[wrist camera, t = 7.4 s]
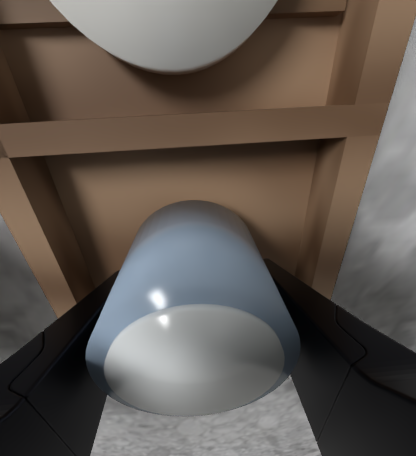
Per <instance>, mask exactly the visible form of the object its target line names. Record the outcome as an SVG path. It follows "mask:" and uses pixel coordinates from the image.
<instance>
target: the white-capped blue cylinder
mask: <svg viewBox="0 0 416 456" xmlns="http://www.w3.org/2000/svg"><path fill="white" fill-rule="evenodd" d="M300 348H301V346H300V337H299V334H298V331H297V329H296V327H295V325H294V322H293V320H292V318H291V316H290V314H289V312H288V310H287V308H286V306H285V304H284V302H283V300H282V298H281V295H280V293H279V291H278V289H277V287H276V285H275V283H274V281H273V279H272V277H271V275H270V273H269V271H268V268H267V266H266V264H265V262H264V260H263V258H262V256H261V254H260V252H259V250H258V248H257V246H256V243H255V241H254V239H253V237H252V235H251V233H250V231H249V229H248V227H247V226H246V224H245V223H244V222H243V220H242V219H241V218H240V217H239V216H238V215H236V214H235V213H234V212H232V211H231V210H229V209H228V208H226V207H224V206H221V205H219V204H216V203H213V202H209V201H202V200H186V201H179V202H176V203H172V204H169V205H167V206H164V207H162V208H160V209H159V210H157V211H155V212H154V213H153V214H151V215H150V216H149V217H148V218H147V219H146V220H145V221H144V222H143V223H142V225H141V226H140V228H139V229H138V231H137V233H136V235H135V238H134V240H133V242H132V244H131V247H130V249H129V251H128V253H127V256H126V258H125V260H124V262H123V265H122V267H121V269H120V271H119V274H118V276H117V278H116V280H115V283H114V285H113V287H112V289H111V292H110V294H109V296H108V298H107V301H106V303H105V305H104V307H103V310H102V312H101V314H100V316H99V319H98V321H97V323H96V325H95V328H94V330H93V332H92V334H91V337H90V339H89V341H88V345H87V348H86V358H85V359H86V365H87V369H88V371H89V374H90V376H91V378H92V379H93V381H94V382H95V384H96V385H97V386H98V387H99V388H100V389H101V390H102V391H103V392H105V393H106V394H107V395H108V396H110V397H111V398H113V399H115V400H116V401H118V402H120V403H122V404H124V405H127V406H129V407H132V408H135V409H137V410H141V411H145V412H149V413H154V414H160V415H168V416H202V415H210V414H215V413H220V412H225V411H229V410H232V409H236V408H239V407H242V406H245V405H247V404H250V403H252V402H254V401H256V400H258V399H260V398H262V397H264V396H266V395H267V394H269V393H270V392H272V391H273V390H274V389H276V388H277V387H278V386H280V385H281V384H282V383H283V382H284V381H285V380H286V379H287V378H288V376H289V375H290V374H291V372H292V371H293V369H294V367H295V366H296V364H297V361H298V358H299V355H300Z"/></svg>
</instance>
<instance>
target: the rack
mask: <svg viewBox="0 0 416 456" xmlns="http://www.w3.org/2000/svg"><path fill="white" fill-rule="evenodd" d="M415 16H416V0H278V1H277V2H276V4H275V5H274V6H273V8H272V9H271V11H270V12H269V14H268V15H267V17H266V18H265V19H264V20H263V22H262V23H261V24H260V25H259V26H258V28H257V29H256V30H255V31H254V32H253V34H252V35H251V36H250V37H249V38H248V39H247V40H246V42H245V43H244V44H243V45H242V46H240V47H239V48H238V49H237V50H236V51H235V52H234V53H233V54H231V55H230V56H228V57H227V58H225V59H224V60H222V61H221V62H219V63H217V64H215V65H213V66H211V67H209V68H207V69H204V70H201V71H197V72H194V73H189V74H181V75H163V74H158V73H152V72H148V71H145V70H142V69H139V68H136V67H133V66H131V65H129V64H127V63H125V62H123V61H121V60H119V59H118V58H116V57H115V56H113V55H112V54H110V53H109V52H107V51H106V50H104V49H103V48H101V47H100V46H99V45H97V44H96V43H94V42H93V41H91V40H90V39H89V38H87V37H86V36H85V35H84V34H83V33H82V32H80V31H79V30H78V29H77V28H76V27H74V26H73V25H72V24H71V23H70V22H69V21H68V20H67V19H66V18H65V17H64V16H63V15H62V14H61V13H60V12H59V10H58V9H57V8H56V7H55V6H54V5H53V4H52V3H51V1H50V0H0V213H1V215H2V217H3V219H4V221H5V222H6V224H7V226H8V228H9V230H10V232H11V233H12V235H13V237H14V239H15V241H16V243H17V244H18V246H19V248H20V250H21V252H22V254H23V255H24V257H25V259H26V261H27V263H28V265H29V266H30V268H31V270H32V272H33V274H34V276H35V277H36V279H37V281H38V283H39V285H40V287H41V288H42V290H43V292H44V294H45V296H46V298H47V299H48V301H49V303H50V305H51V307H52V309H53V310H54V312H55V314H56V316H57V318H60V317H61V316H62V315H63V314H64V313H66V312H67V311H68V310H69V309H71V308H72V307H73V306H74V305H76V304H77V303H78V302H79V301H80V300H82V299H83V298H84V297H85V296H87V295H88V294H89V293H90V292H92V291H93V290H94V289H95V288H96V287H98V286H99V285H100V284H101V283H103V282H104V281H105V280H106V279H108V278H109V277H110V276H111V275H112V274H114V273H115V272H116V271H118V270H120V269H121V267H122V265H123V262H124V260H125V258H126V256H127V253H128V251H129V249H130V247H131V244H132V242H133V240H134V238H135V235H136V233H137V231H138V229H139V228H140V226H141V225H142V223H143V222H144V221H145V220H146V219H147V218H148V217H149V216H150V215H151V214H153V213H154V212H155V211H157V210H159V209H160V208H162V207H164V206H167V205H169V204H172V203H176V202H179V201H186V200H202V201H209V202H213V203H216V204H219V205H221V206H224V207H226V208H228V209H229V210H231V211H232V212H234V213H235V214H236V215H238V216H239V217H240V218H241V219H242V220H243V222H244V223H245V224H246V226H247V227H248V229H249V231H250V233H251V235H252V237H253V239H254V241H255V243H256V246H257V248H258V250H259V252H260V254H261V256H262V258H269V259H270V260H272V261H273V262H275V263H276V264H278V265H279V266H281V267H282V268H284V269H285V270H286V271H288V272H289V273H291V274H292V275H294V276H295V277H297V278H298V279H300V280H301V281H303V282H304V283H306V284H307V285H309V286H310V287H312V288H313V289H314V290H316V291H317V292H319V293H320V294H322V295H323V296H325V297H326V298H328V299H329V300H331V296H332V293H333V290H334V286H335V283H336V280H337V276H338V273H339V270H340V266H341V263H342V260H343V256H344V253H345V250H346V246H347V243H348V240H349V236H350V233H351V230H352V226H353V223H354V220H355V216H356V213H357V210H358V206H359V203H360V200H361V196H362V193H363V190H364V186H365V183H366V180H367V176H368V173H369V170H370V166H371V163H372V160H373V156H374V153H375V150H376V146H377V143H378V140H379V136H380V133H381V130H382V126H383V123H384V120H385V116H386V113H387V110H388V106H389V103H390V100H391V96H392V93H393V90H394V86H395V83H396V80H397V76H398V73H399V70H400V66H401V63H402V60H403V56H404V53H405V50H406V46H407V43H408V40H409V36H410V33H411V30H412V26H413V23H414V20H415Z"/></svg>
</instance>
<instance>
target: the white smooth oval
mask: <svg viewBox="0 0 416 456" xmlns="http://www.w3.org/2000/svg"><path fill="white" fill-rule="evenodd" d="M50 1H51V3H52V4H53V5H54V6H55V7H56V8H57V9H58V10H59V12H60V13H61V14H62V15H63V16H64V17H65V18H66V19H67V20H68V21H69V22H70V23H71V24H72V25H73V26H74V27H76V28H77V29H78V30H79V31H80V32H82V33H83V34H84V35H85V36H86V37H87V38H89V39H90V40H91V41H93V42H94V43H96V44H97V45H99V46H100V47H101V48H103V49H104V50H106V51H107V52H109V53H110V54H112V55H113V56H115V57H116V58H118V59H119V60H121V61H123V62H125V63H127V64H129V65H131V66H133V67H136V68H139V69H142V70H145V71H148V72H152V73H158V74H163V75H181V74H189V73H194V72H197V71H201V70H204V69H207V68H209V67H211V66H213V65H215V64H217V63H219V62H221V61H222V60H224V59H225V58H227V57H228V56H230V55H231V54H233V53H234V52H235V51H236V50H237V49H238V48H239V47H240V46H242V45H243V44H244V43H245V42H246V40H247V39H248V38H249V37H250V36H251V35H252V34H253V32H254V31H255V30H256V29H257V28H258V26H259V25H260V24H261V23H262V22H263V20H264V19H265V18H266V17H267V15H268V14H269V12H270V11H271V9H272V8H273V6H274V5H275V4H276V2H277V1H278V0H50Z"/></svg>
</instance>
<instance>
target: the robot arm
mask: <svg viewBox="0 0 416 456" xmlns="http://www.w3.org/2000/svg"><path fill="white" fill-rule="evenodd" d="M263 260H264V262H265V264H266V266H267V268H268V271H269V273H270V275H271V277H272V279H273V281H274V283H275V285H276V287H277V289H278V291H279V293H280V295H281V298H282V300H283V302H284V304H285V306H286V308H287V310H288V312H289V314H290V316H291V318H292V320H293V322H294V325H295V327H296V329H297V331H298V334H299V337H300V346H301V348H300V355H299V358H298V361H297V364H296V366H295V367H294V369H293V371H292V372H291V377H292V380H293V382H294V385H295V387H296V390H297V392H298V395H299V398H300V400H301V403H302V405H303V408H304V410H305V413H306V416H307V418H308V421H309V423H310V426H311V428H312V431H313V434H314V436H315V439H316V441H317V444H318V447H319V449H320V452H321V455H322V456H416V353H415V352H413V351H412V350H410V349H408V348H406V347H405V346H403V345H401V344H400V343H398V342H396V341H394V340H393V339H391V338H389V337H388V336H386V335H384V334H382V333H381V332H379V331H377V330H376V329H374V328H372V327H371V326H369V325H367V324H366V323H364V322H362V321H361V320H359V319H358V318H356V317H355V316H353V315H352V314H350V313H349V312H347V311H346V310H344V309H343V308H341V307H340V306H338V305H336V304H335V303H334V302H332V301H331V300H329V299H328V298H326V297H325V296H323V295H322V294H320V293H319V292H317V291H316V290H314V289H313V288H312V287H310V286H309V285H307V284H306V283H304V282H303V281H301V280H300V279H298V278H297V277H295V276H294V275H292V274H291V273H289V272H288V271H286V270H285V269H284V268H282V267H281V266H279V265H278V264H276V263H275V262H273V261H272V260H270V259H269V258H263ZM119 271H120V270H118V271H116V272H115V273H114V274H112V275H111V276H110V277H109V278H108V279H106V280H105V281H104V282H103V283H101V284H100V285H99V286H98V287H96V288H95V289H94V290H93V291H92V292H90V293H89V294H88V295H87V296H85V297H84V298H83V299H82V300H80V301H79V302H78V303H77V304H76V305H74V306H73V307H72V308H71V309H69V310H68V311H67V312H66V313H64V314H63V315H62V316H61V317H60V318H58V319H57V320H56V321H55V322H53V323H52V324H51V325H50V326H48V327H47V328H46V329H45V330H44V332H41V333H40V334H38V335H37V336H36V337H35V338H34V339H32V340H31V341H30V342H29V343H27V344H26V345H25V346H23V347H22V348H21V349H20V350H18V351H17V352H16V353H15V354H13V355H12V356H10V357H9V358H8V359H6V360H5V361H4V362H2V363H1V364H0V456H90V454H91V450H92V447H93V443H94V440H95V436H96V433H97V429H98V426H99V422H100V419H101V415H102V411H103V408H104V404H105V401H106V397H107V394H106V393H105V392H103V391H102V390H101V389H100V388H99V387H98V386H97V385H96V384H95V382H94V381H93V379H92V378H91V376H90V374H89V371H88V369H87V365H86V359H85V358H86V348H87V345H88V341H89V339H90V337H91V334H92V332H93V330H94V328H95V325H96V323H97V321H98V319H99V316H100V314H101V312H102V310H103V307H104V305H105V303H106V301H107V298H108V296H109V294H110V292H111V289H112V287H113V285H114V283H115V280H116V278H117V276H118V274H119Z"/></svg>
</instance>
